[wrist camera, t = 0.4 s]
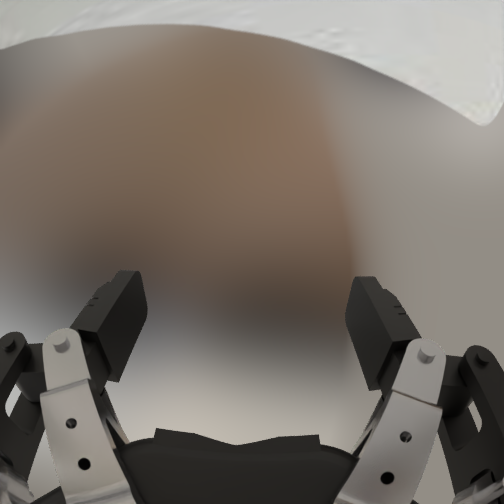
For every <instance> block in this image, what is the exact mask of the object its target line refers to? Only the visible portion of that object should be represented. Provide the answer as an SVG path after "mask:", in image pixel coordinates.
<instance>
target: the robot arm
mask: <svg viewBox="0 0 504 504" xmlns="http://www.w3.org/2000/svg"><path fill="white" fill-rule="evenodd" d="M147 309H148V308H147V301H146V297H145V292H144V287H143V282H142V277H141V274H140V272H139V271H133V270H132V271H131V270H120V271H118V273H117V274H116V275H115V277H114V278H113V279H112V281H111V282H107V283H106V284H104V285H103V286H101V287H100V288H98V289H97V291H96V292H95V294H94V295H93V296H92V299H90V300H89V301H88V303H87V306H85V307H84V308H83V310H82V311H81V313H80V314H79V315H78V317H77V318H76V319H75V321H74V323H73V324H72V325H71V327H70V328H66V329H65V328H64V329H59V330H56V331H54V332H53V333H51V334H50V335H49V336H48V337H47V338H46V339H45V341H44V343H39V344H28V343H27V341H26V339H25V337H24V335H23V334H22V333H20V332H11V333H8V334H6V335H4V336H3V337H2V338H1V339H0V504H418V503H417V502H416V501H414V500H413V497H414V494H415V492H416V490H417V488H418V485H419V483H420V480H421V478H422V475H423V473H424V470H425V467H426V464H427V462H428V459H429V456H430V453H431V450H432V447H433V444H434V441H435V437H436V434H437V432H438V435H439V438H440V441H441V444H442V448H443V451H444V455H445V458H446V461H447V465H448V469H449V473H450V477H451V480H452V485H453V489H454V493H455V498H454V500H453V502H452V504H504V371H503V370H502V368H501V366H500V365H499V363H498V361H497V360H496V358H495V356H494V355H493V354H492V353H491V352H490V351H489V350H487V349H486V348H484V347H482V346H477V345H474V346H471V347H469V348H468V349H467V351H466V352H465V354H464V356H463V357H458V356H449V355H445V352H444V350H443V349H442V348H441V347H440V346H439V345H438V344H437V343H435V342H433V341H431V340H428V339H424V338H423V339H422V338H421V336H420V334H419V332H418V331H417V329H416V328H415V326H414V324H413V323H412V321H411V320H410V318H409V316H408V315H406V311H405V310H404V308H403V307H402V305H401V304H400V302H399V301H398V300H397V297H396V296H394V295H393V294H392V293H391V292H389V291H388V290H387V289H383V288H382V287H381V285H380V284H379V282H378V281H377V279H376V278H375V277H373V276H372V277H371V276H368V277H355V278H354V280H353V283H352V287H351V291H350V295H349V300H348V304H347V308H346V313H345V321H346V326H347V328H348V331H349V334H350V337H351V340H352V342H353V345H354V348H355V351H356V353H357V356H358V359H359V362H360V365H361V368H362V371H363V374H364V377H365V380H366V383H367V386H368V389H369V391H372V390H379V389H381V391H382V396H381V398H380V399H379V401H378V403H377V406H376V408H375V410H374V412H373V414H372V415H371V417H370V419H369V421H368V423H367V425H366V427H365V429H364V431H363V433H362V435H361V437H360V438H359V440H358V441H357V443H356V444H355V446H354V447H353V449H352V450H351V452H350V453H348V452H346V451H344V450H341V449H338V448H335V447H331V446H327V445H321V444H320V440H319V435H305V436H287V437H286V436H285V437H276V438H271V439H268V440H262V441H258V442H253V443H248V444H243V445H231V444H228V443H224V442H220V441H217V440H214V439H211V438H207V437H204V436H201V435H198V434H195V433H187V432H179V431H172V430H165V429H159V428H156V431H155V435H154V438H147V439H141V440H137V441H134V442H131V443H130V442H129V440H128V438H127V437H126V435H125V433H124V431H123V430H122V427H121V425H120V423H119V420H118V418H117V416H116V413H115V411H114V409H113V406H112V404H111V401H110V399H109V396H108V393H107V391H106V389H105V387H104V386H105V384H106V382H107V380H108V381H113V382H119V381H120V378H121V376H122V373H123V371H124V368H125V366H126V364H127V361H128V359H129V357H130V354H131V352H132V350H133V347H134V345H135V343H136V341H137V338H138V336H139V334H140V332H141V330H142V327H143V325H144V323H145V321H146V318H147ZM15 384H16V385H17V387H18V388H19V389H20V391H21V394H20V396H19V398H18V400H17V402H16V404H15V406H14V408H13V411H12V413H11V415H10V417H8V415H7V413H6V410H5V404H6V401H7V399H8V397H9V395H10V393H11V391H12V389H13V387H14V385H15ZM472 401H474V403H475V405H476V407H477V410H478V412H479V414H480V417H481V419H482V427H481V430H480V432H478V430H477V427H476V425H475V422H474V420H473V418H472V415H471V413H470V410H469V408H468V406H469V405H470V404H471V403H472ZM44 430H46V435H47V439H48V444H49V448H50V451H51V455H52V459H53V463H54V466H55V470H56V473H57V476H58V479H59V482H60V485H61V486H59V487H57V488H56V489H54V490H52V491H51V492H49V493H47V494H46V495H44V496H42V497H40V498H38V499H37V500H35V501H34V495H33V494H32V492H31V491H29V486H28V483H27V480H28V477H29V474H30V470H31V467H32V464H33V461H34V458H35V455H36V452H37V449H38V446H39V443H40V441H41V438H42V435H43V432H44Z"/></svg>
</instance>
